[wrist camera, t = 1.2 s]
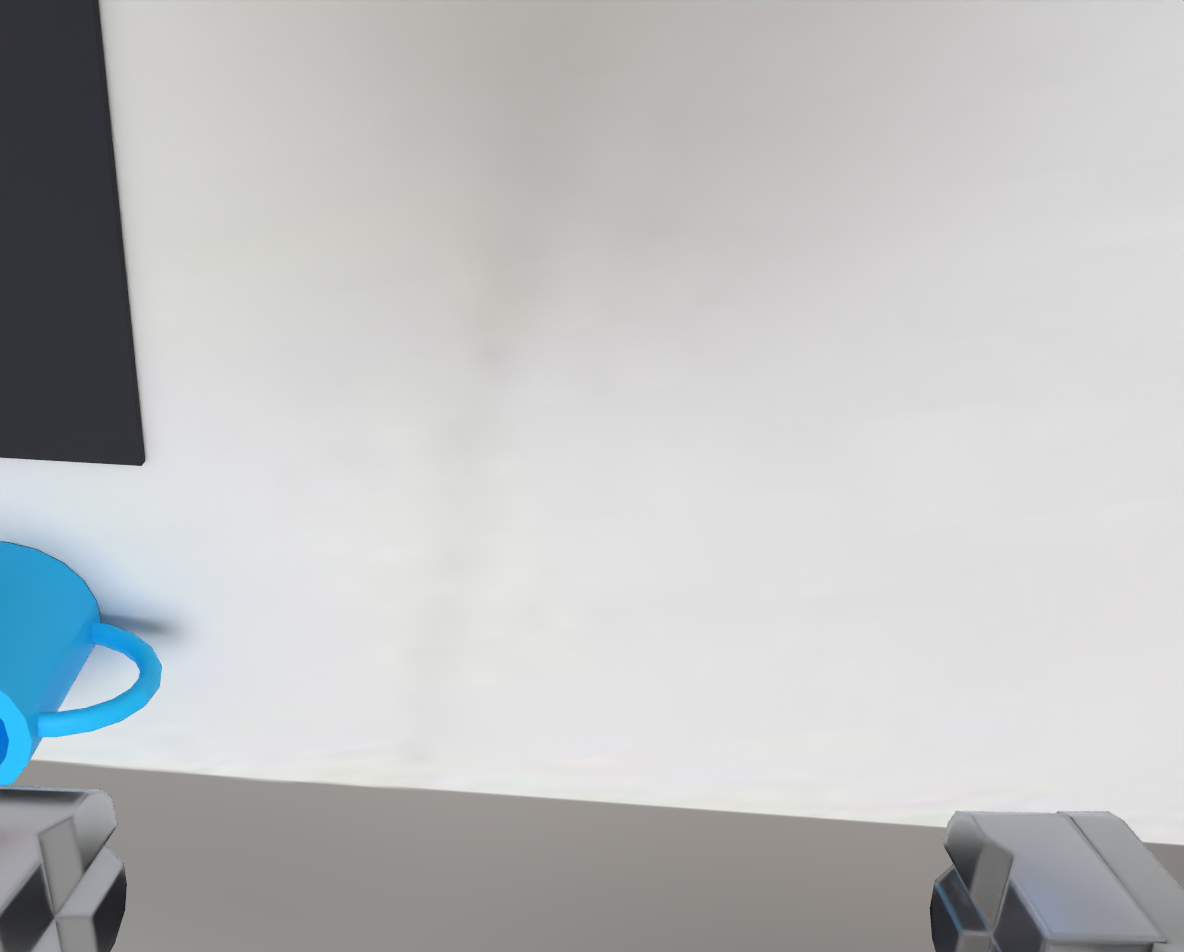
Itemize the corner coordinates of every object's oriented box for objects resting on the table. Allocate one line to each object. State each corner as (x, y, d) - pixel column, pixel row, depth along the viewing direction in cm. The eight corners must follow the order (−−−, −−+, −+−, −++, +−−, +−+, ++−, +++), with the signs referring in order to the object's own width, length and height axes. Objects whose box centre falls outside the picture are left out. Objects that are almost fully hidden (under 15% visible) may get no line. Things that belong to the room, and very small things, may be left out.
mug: (-79, 668, 44) (-182, 797, 37) (-94, 529, 40) (-212, 643, 33) (179, 692, 47) (129, 816, 40) (186, 564, 43) (132, 676, 36)
